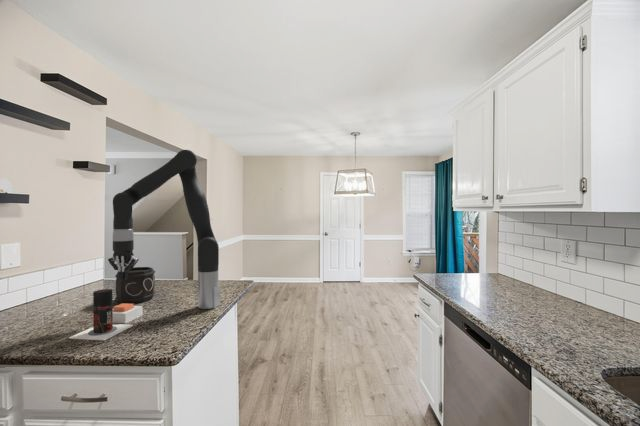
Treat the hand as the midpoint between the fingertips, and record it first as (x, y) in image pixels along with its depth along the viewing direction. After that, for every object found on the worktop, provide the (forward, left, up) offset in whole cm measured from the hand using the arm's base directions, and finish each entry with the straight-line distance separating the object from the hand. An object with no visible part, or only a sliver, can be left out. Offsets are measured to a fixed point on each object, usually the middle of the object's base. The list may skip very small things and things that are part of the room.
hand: (123, 280), depth 130 cm
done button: (0, 0, -14) cm, 14 cm away
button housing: (0, 0, -16) cm, 16 cm away
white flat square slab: (-3, +14, -16) cm, 22 cm away
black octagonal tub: (+15, -27, -17) cm, 35 cm away
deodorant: (-3, +14, -16) cm, 22 cm away
